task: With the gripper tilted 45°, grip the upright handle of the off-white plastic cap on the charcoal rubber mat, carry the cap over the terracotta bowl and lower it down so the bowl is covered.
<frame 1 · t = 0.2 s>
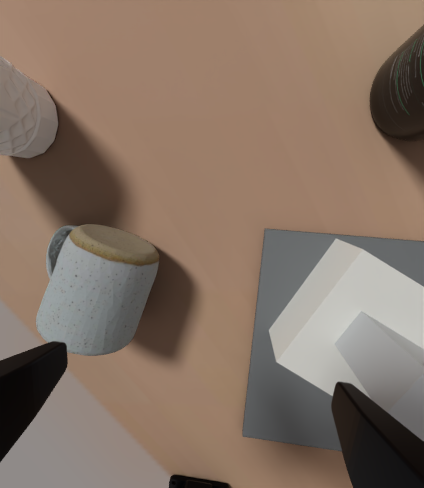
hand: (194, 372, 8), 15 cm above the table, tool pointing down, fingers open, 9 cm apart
white cup: (25, 119, 22), on the table
mat: (379, 353, 23), on the table
supplement bottle: (412, 96, 19), on the table
cover: (349, 316, 22), point 1 cm above the table, touching mat
ceramic mug: (111, 267, 24), on the table
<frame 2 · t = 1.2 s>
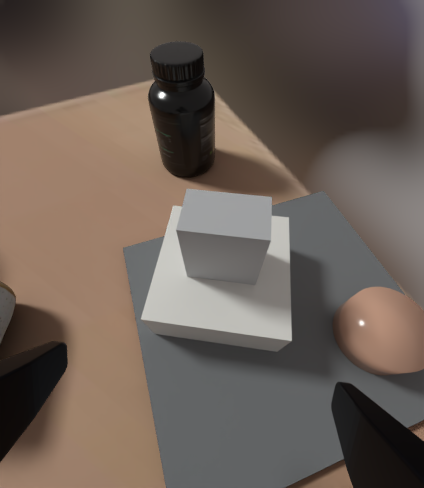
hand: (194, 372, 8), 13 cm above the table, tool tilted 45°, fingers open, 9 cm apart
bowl: (370, 334, 20), resting on mat
mat: (272, 310, 22), on the table
supplement bottle: (189, 161, 33), on the table
cover: (221, 285, 23), point 1 cm above the table, touching mat
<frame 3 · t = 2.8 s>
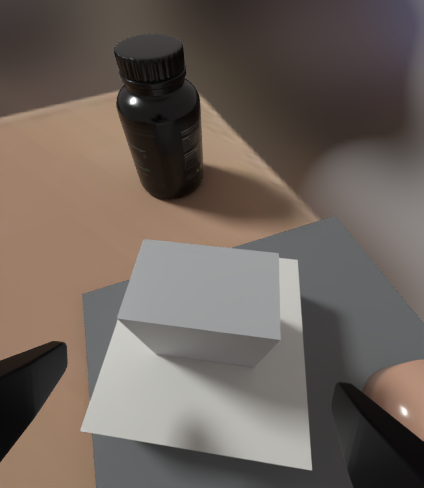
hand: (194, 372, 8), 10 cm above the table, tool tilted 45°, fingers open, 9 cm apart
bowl: (414, 422, 15), resting on mat
mat: (277, 383, 16), on the table
supplement bottle: (172, 179, 28), on the table
cover: (209, 347, 17), point 1 cm above the table, touching mat
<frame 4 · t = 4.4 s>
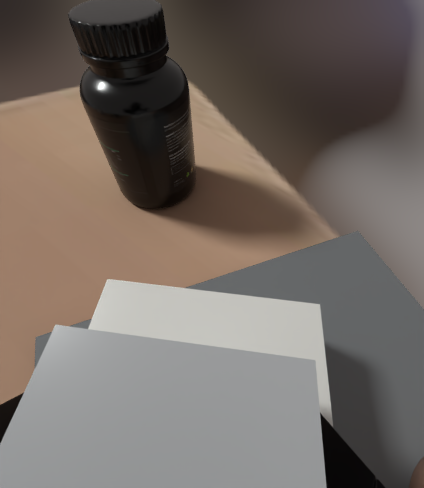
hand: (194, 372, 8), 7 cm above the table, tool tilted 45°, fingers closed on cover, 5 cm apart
mat: (290, 469, 12), on the table
supplement bottle: (159, 184, 23), on the table
cover: (198, 416, 13), point 1 cm above the table, touching gripper, mat
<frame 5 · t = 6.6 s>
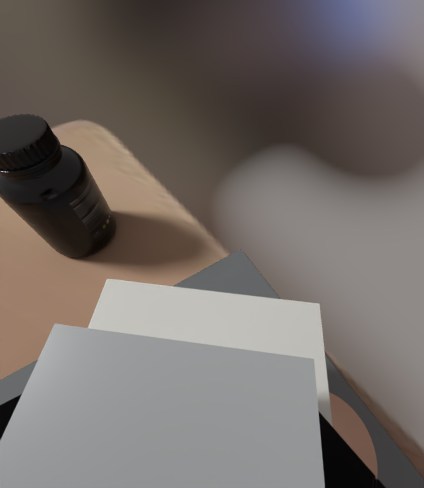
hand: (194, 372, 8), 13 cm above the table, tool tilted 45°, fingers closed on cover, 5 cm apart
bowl: (307, 441, 17), resting on mat
mat: (192, 432, 18), on the table
supplement bottle: (86, 233, 28), on the table
cover: (198, 416, 13), point 7 cm above the table, touching gripper
when the fingers open (8 cm above the table, at t = 8.9 s): cover drops 1 cm, resting on mat.
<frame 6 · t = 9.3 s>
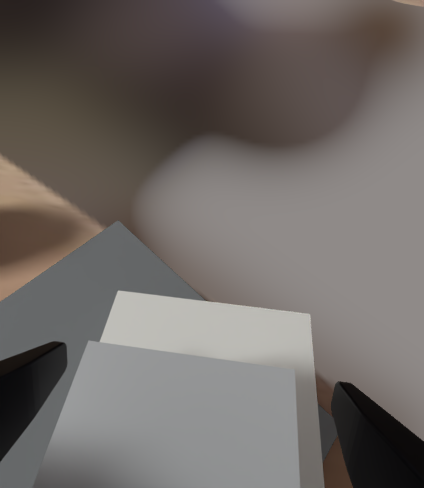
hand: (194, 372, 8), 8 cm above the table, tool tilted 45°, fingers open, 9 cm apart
mat: (58, 451, 14), on the table
cover: (200, 415, 14), point 1 cm above the table, touching mat
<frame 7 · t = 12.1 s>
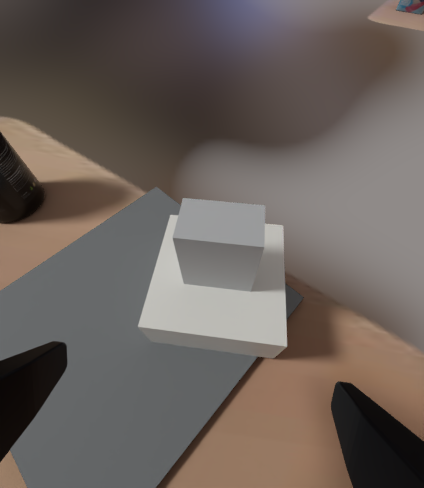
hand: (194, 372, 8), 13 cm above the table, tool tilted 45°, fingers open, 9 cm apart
mat: (133, 312, 23), on the table
supplement bottle: (18, 203, 31), on the table
cover: (218, 292, 23), point 1 cm above the table, touching mat
juice carton: (410, 10, 70), on the table
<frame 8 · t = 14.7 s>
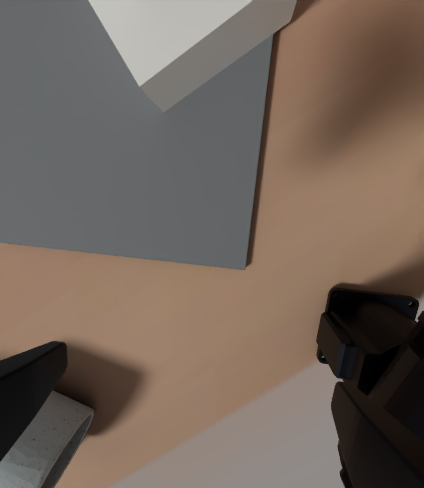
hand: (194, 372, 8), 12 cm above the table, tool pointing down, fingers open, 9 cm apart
mat: (121, 105, 19), on the table
ceramic mug: (57, 412, 26), on the table
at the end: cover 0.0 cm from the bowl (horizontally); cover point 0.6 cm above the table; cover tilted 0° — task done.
